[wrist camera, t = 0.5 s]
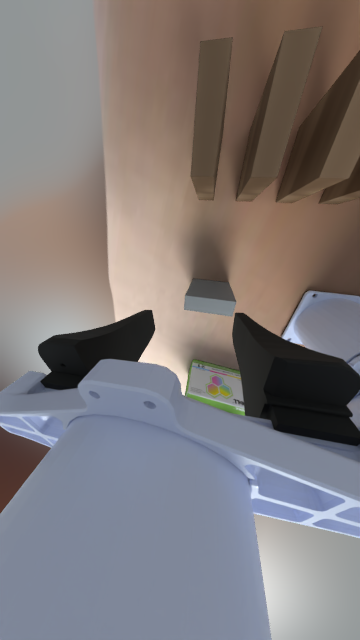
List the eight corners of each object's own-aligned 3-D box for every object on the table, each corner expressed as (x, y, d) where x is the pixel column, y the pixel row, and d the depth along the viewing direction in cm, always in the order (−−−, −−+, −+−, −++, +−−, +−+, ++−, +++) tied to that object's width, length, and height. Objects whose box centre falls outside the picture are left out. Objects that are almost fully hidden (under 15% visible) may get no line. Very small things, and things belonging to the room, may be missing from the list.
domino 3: (269, 128, 12) (322, 26, 6) (251, 201, 15) (277, 177, 9) (250, 128, 13) (284, 31, 7) (235, 201, 15) (250, 177, 9)
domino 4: (320, 126, 12) (430, 12, 6) (292, 202, 14) (348, 178, 8) (299, 126, 12) (385, 18, 6) (275, 202, 15) (319, 177, 9)
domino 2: (193, 278, 20) (185, 295, 14) (229, 282, 19) (236, 302, 13) (192, 289, 21) (184, 309, 15) (226, 293, 20) (232, 316, 14)
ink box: (244, 371, 27) (270, 475, 15) (235, 387, 30) (250, 486, 18) (192, 358, 28) (178, 446, 16) (188, 375, 31) (172, 461, 19)
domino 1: (223, 129, 13) (232, 37, 7) (213, 200, 15) (214, 176, 10) (205, 130, 13) (200, 41, 7) (198, 199, 16) (190, 176, 10)
